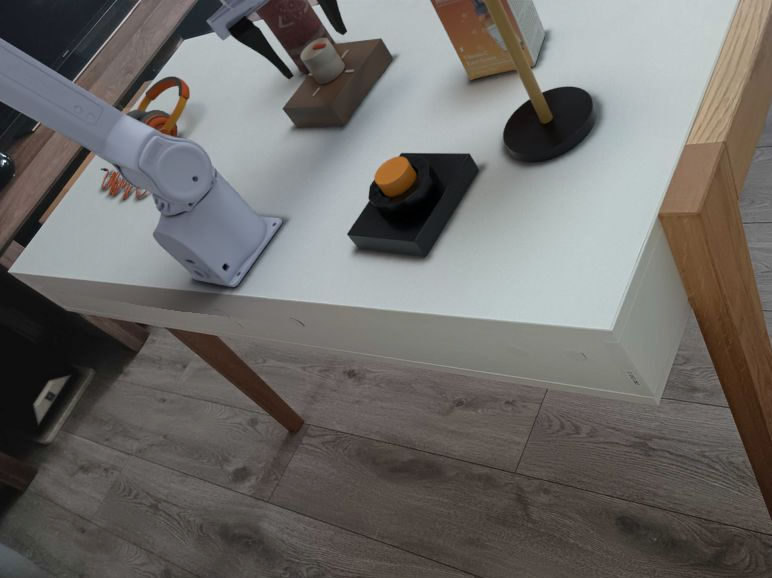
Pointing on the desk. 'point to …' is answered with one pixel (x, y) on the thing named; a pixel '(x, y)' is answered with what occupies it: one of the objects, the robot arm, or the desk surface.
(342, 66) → the dimmer knob
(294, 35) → the can
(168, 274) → the desk surface
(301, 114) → the dimmer panel
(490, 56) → the small box
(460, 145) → the desk surface
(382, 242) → the switch base
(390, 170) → the lamp switch
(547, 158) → the desk lamp
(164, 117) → the headphones
